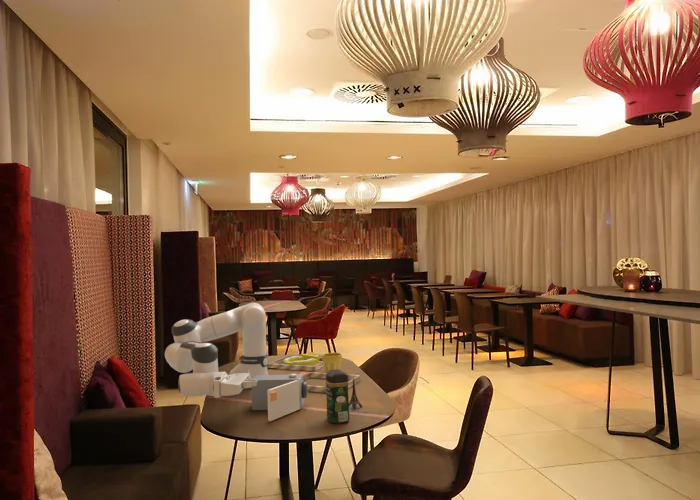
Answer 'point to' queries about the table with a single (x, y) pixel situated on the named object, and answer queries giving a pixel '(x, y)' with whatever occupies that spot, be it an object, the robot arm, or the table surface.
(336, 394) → the coffee jar
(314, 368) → the oak tray frame under the ashtray
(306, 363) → the ashtray
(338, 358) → the plant pot
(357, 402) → the eiffel tower figurine
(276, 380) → the camera body
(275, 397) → the side door
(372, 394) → the table surface
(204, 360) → the robot arm
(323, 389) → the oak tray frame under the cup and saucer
